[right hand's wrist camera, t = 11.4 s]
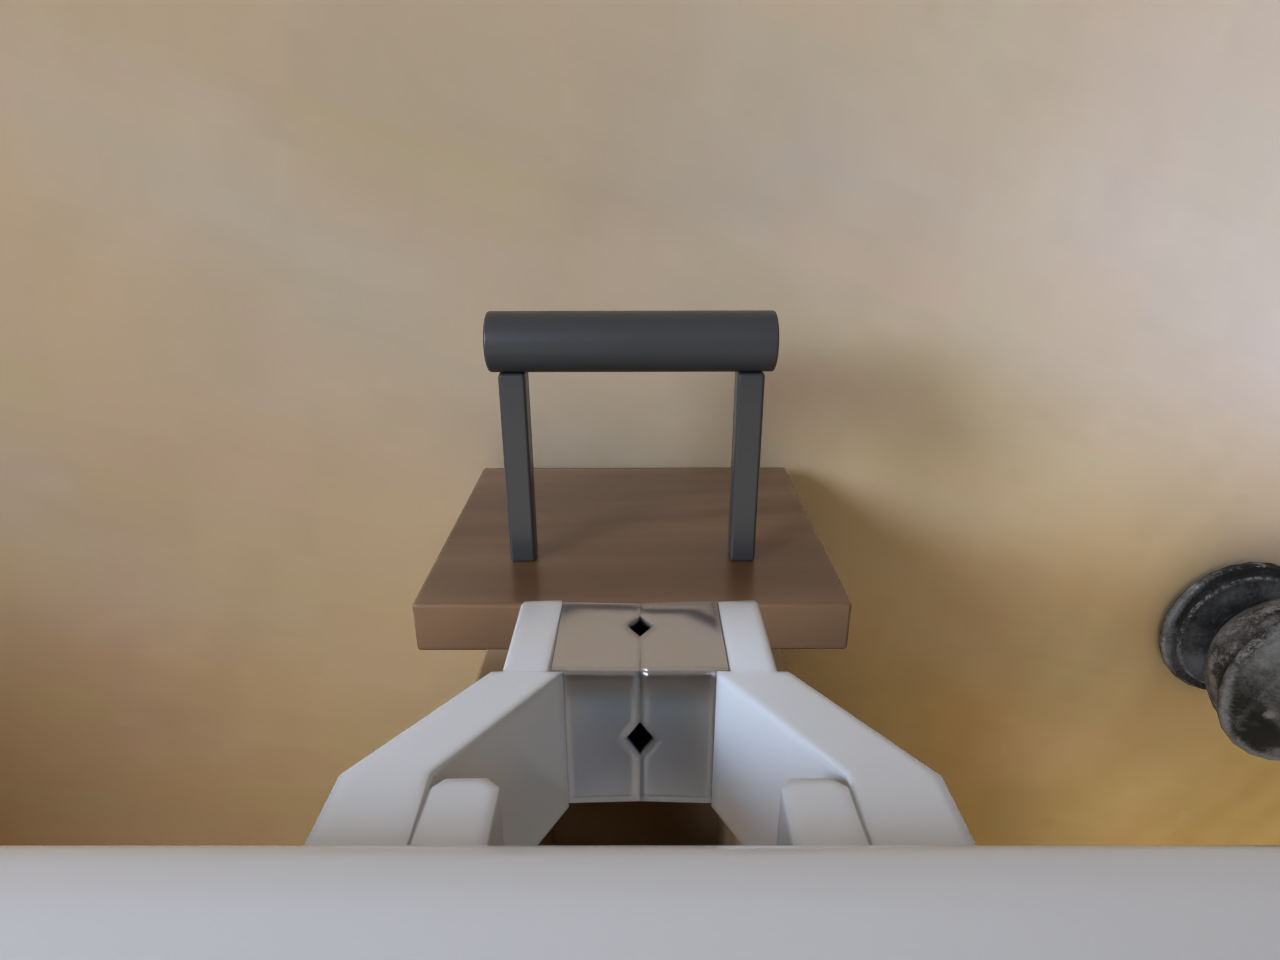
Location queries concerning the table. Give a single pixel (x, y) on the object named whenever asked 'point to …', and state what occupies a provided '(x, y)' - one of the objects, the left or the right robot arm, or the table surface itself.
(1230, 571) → the stone chess piece
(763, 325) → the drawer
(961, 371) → the table surface
